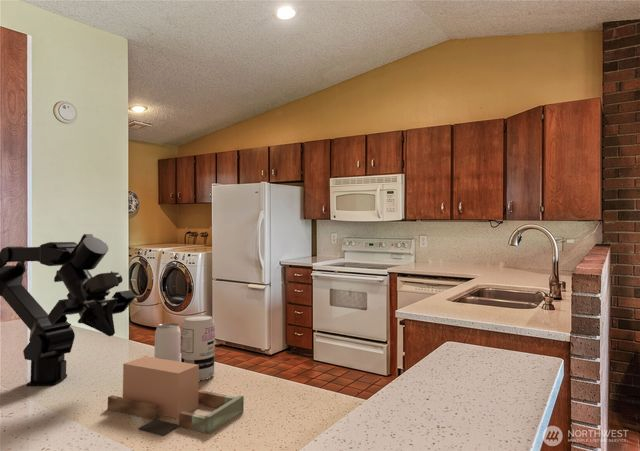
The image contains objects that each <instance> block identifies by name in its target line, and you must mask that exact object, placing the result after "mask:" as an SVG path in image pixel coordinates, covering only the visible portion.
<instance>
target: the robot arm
mask: <svg viewBox="0 0 640 451" xmlns="http://www.w3.org/2000/svg"><path fill="white" fill-rule="evenodd" d="M108 252H109V246H108V244H107V243H106V242H104V241H103V240H102V239H100V238H97V237H95V236H94V235H93V234H92V233H83V235H82V236H81V238H80V239H79V241H78V243H76V241H55V242H54V241H49V242H45V243H42V244H40V245H39V246H26V247H25V246H22V245H20V246H6V247H3V248H1V249H0V297H2V299H3V300H5V302H6V303H7V305H8V306H9V307H10V308H11V309H12V310H13V311H14V312H15V314H16V315H17V316H18V317H19V319H21V321H22V322H23V323H24V324H25V327H27V328H28V329H29V330H30V332H29V337H28V338H29V339H28V340H29V343H27V345H26V346H25V347H24V349H23V357H24V360H28V361H30V380H29V381H28V382H26V384H25V385H26V386H55V385H57V384H58V383H60V382H61V381H63V380H64V379H65V378H67V377H68V374H67V360H66V359H65V358H66V357H65V354H70V353H71V352H72V348H73V344H74V340H75V336H76V335H75V334H76V333H75V332H74V329H73V327H71V325H72V323H70V322H68V321H67V320H68V317H67V315H69V316H71V315H76V314H79V315H78V316H79V317H80V318H79V319H78V320H77V323H78V324H82V325H85V326H87V327H90V328H93V329H95V330H96V331H98V332H100V333H102V334H105V335H106V336H108V337H113V336H114V335H115V334H116V331H115V322H114V317H113V316H114V315H115V314H122V313H124V312H125V311H126V310H127V308H128V307H129V306H130V304H131V303H132V302H133V301H134V300H135V299H136V295H135V294H134V293H133V291H132V290H121V291H116V292H114V294H113V295H112V297H110V298H106V297H107V296H109V294H110V293H111V291H110V290H111V289H113V288H114V287H118V286H119V285H120V284H121V283H123V280H124V279H123V277H122V274H121V273H120V271H118V270H111V271H110V272H103V273H98V274H95V275H94V276H92V274H91V272H90V271H93V270H95V268H97V266H98V265H99V263H100V262H101V261H102V259H103V258H104V257H105V255H106V254H107V253H108ZM13 262H14V263H16V265H7V264H8V263H13ZM26 262H38V263H39V264H41V265H44V266H46V267H47V266H48V267H59V266H60V268H59V270H56V273H55V276H54V278H53V282H54V283H59V282H60V283H61V282H62V283H63V285H64V286H65V288H66V289H67V291H68V293H67V294H66V298H64V299H59V300H58V301H57V302H56V304H55V305H54V306H53V308H52V309H51V311H50V312H49V313H48V312H46V310H45V309H44V308H43V306H41V304H40V303H39V302H38V301H37V300H36V299H35V298H34V297H33V295H32V294H31V293H30V292H29V291H28V290H27V288H25V287H24V285H23V284H22V283H23V280H24V274H25V272H26V269H27V268H26V265H25V263H26Z"/></svg>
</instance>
